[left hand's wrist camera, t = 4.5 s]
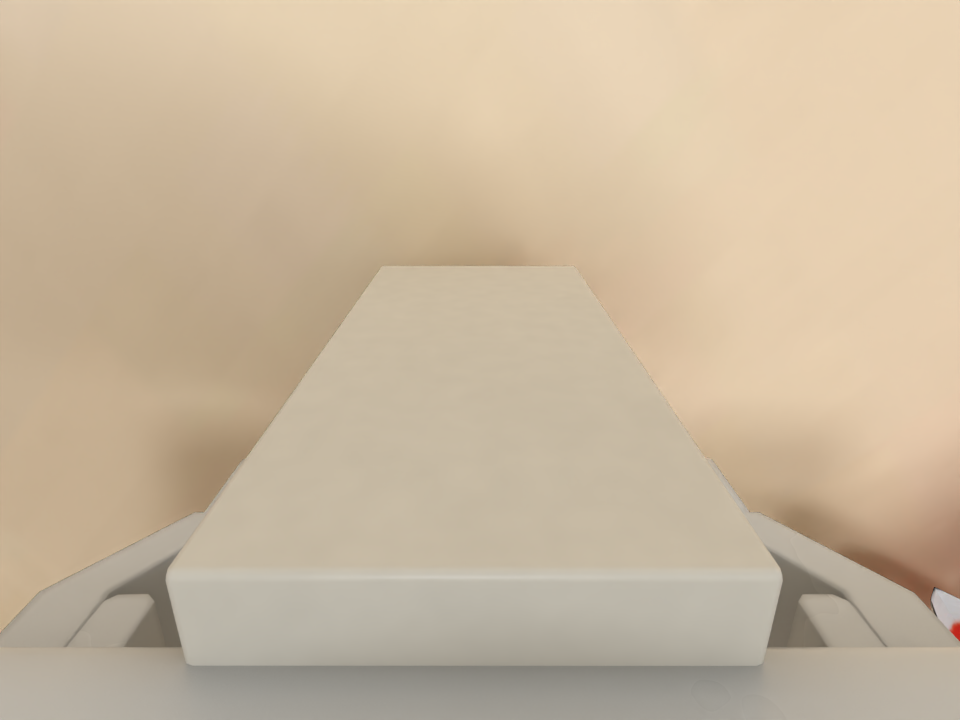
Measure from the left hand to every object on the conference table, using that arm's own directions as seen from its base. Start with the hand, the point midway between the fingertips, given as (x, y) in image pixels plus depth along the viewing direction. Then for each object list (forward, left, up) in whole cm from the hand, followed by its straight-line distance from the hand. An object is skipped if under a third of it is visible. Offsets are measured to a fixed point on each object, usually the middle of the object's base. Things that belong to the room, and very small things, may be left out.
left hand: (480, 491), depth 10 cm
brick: (0, 0, -6) cm, 6 cm away
